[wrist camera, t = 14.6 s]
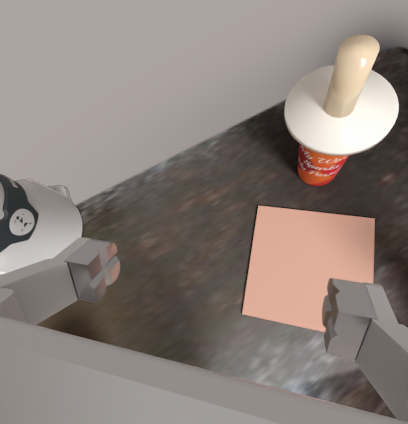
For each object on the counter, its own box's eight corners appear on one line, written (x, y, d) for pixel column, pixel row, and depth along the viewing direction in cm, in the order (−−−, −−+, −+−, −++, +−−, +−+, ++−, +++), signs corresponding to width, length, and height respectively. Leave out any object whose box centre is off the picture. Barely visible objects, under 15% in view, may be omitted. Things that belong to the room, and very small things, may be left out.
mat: (242, 313, 39) (242, 314, 38) (258, 206, 43) (258, 205, 43) (370, 341, 34) (371, 342, 34) (373, 219, 39) (374, 218, 38)
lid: (279, 153, 30) (283, 104, 23) (288, 71, 33) (294, 5, 26) (396, 158, 27) (443, 104, 20) (394, 68, 30) (433, -7, 23)
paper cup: (286, 187, 43) (293, 136, 30) (295, 144, 45) (306, 79, 32) (340, 197, 41) (373, 146, 28) (348, 151, 43) (382, 84, 30)
